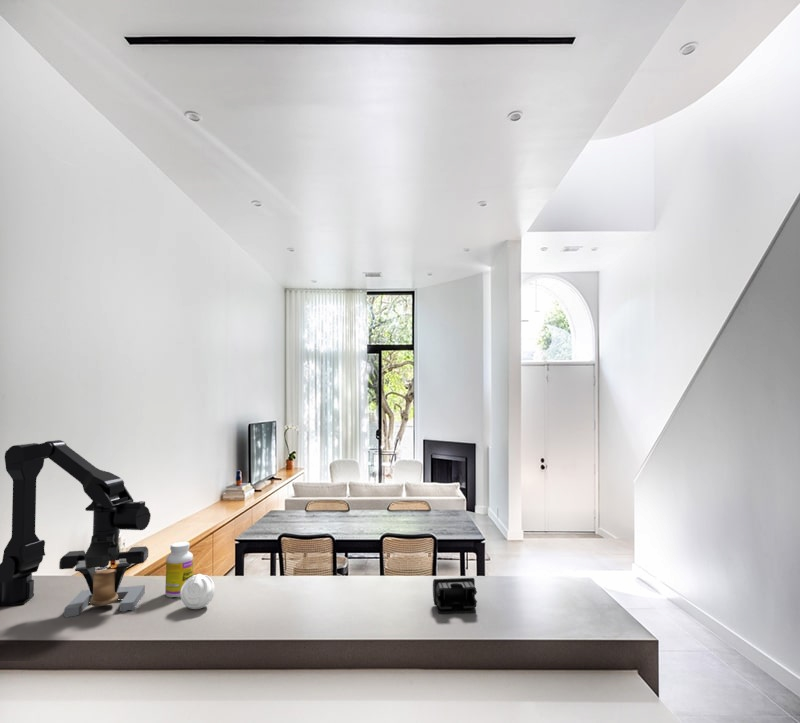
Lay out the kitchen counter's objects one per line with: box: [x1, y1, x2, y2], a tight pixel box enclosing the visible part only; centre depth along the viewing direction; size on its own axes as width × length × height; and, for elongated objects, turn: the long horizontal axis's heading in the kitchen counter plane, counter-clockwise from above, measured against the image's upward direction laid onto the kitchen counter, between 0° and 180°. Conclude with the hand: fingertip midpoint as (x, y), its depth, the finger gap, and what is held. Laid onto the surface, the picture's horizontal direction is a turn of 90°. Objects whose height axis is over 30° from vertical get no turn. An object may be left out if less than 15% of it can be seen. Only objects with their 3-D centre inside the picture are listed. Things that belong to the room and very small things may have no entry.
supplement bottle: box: [164, 541, 194, 598], centre depth 142 cm, size 7×7×13 cm
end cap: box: [432, 577, 478, 615], centre depth 131 cm, size 10×7×7 cm
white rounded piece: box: [179, 573, 215, 610], centre depth 132 cm, size 8×8×8 cm
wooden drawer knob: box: [89, 568, 119, 607], centre depth 133 cm, size 6×6×7 cm
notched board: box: [63, 584, 146, 618], centre depth 135 cm, size 15×12×2 cm
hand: (104, 592), depth 133 cm, fingers closed on wooden drawer knob, 5 cm apart
